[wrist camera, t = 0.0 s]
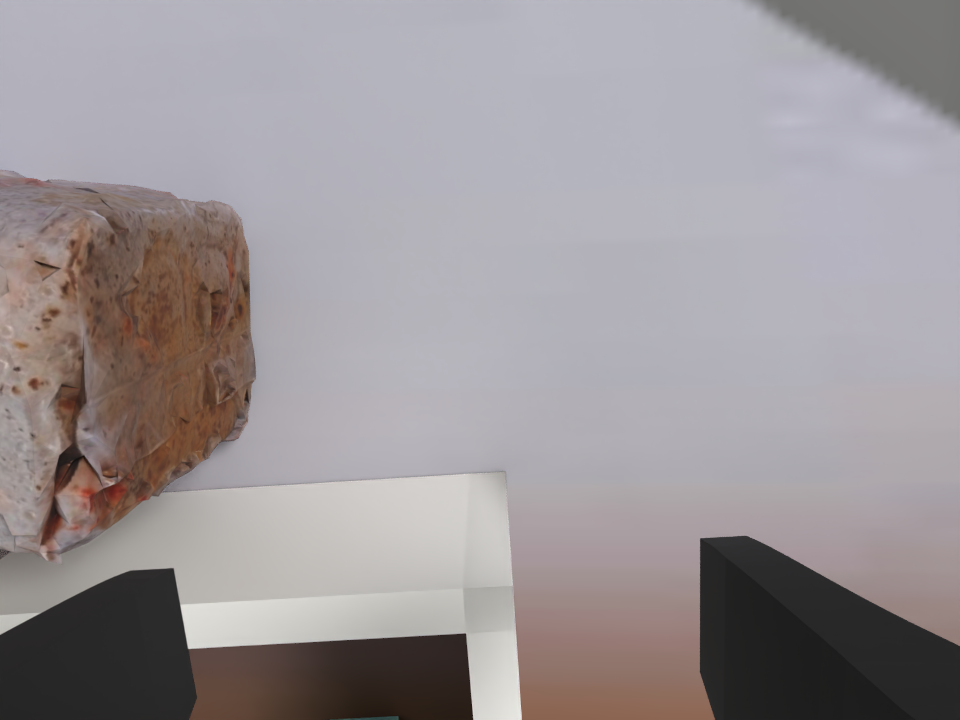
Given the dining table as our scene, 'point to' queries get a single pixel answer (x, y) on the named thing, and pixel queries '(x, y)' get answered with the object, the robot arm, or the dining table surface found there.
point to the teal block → (373, 718)
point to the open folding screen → (314, 568)
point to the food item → (112, 351)
